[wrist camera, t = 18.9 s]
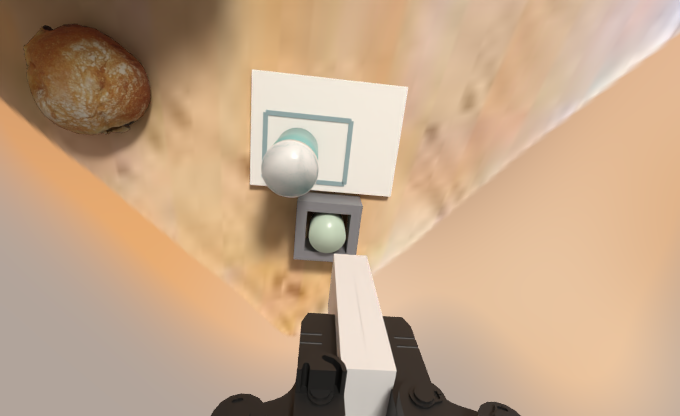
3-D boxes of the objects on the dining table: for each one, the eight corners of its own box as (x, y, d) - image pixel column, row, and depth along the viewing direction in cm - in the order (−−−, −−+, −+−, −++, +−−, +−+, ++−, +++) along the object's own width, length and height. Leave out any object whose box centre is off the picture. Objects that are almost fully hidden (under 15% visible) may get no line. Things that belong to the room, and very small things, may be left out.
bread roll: (108, 131, 40) (91, 170, 34) (8, 55, 33) (-35, 88, 27) (173, 82, 38) (167, 114, 32) (83, -8, 31) (54, 12, 25)
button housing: (295, 245, 42) (293, 259, 38) (299, 191, 39) (297, 200, 36) (352, 249, 42) (354, 263, 39) (359, 196, 40) (362, 206, 37)
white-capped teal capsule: (275, 165, 37) (259, 193, 27) (278, 123, 36) (263, 137, 26) (315, 170, 38) (315, 200, 28) (321, 129, 36) (322, 145, 26)
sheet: (251, 182, 39) (249, 184, 38) (253, 69, 35) (251, 69, 34) (389, 194, 40) (390, 197, 39) (406, 87, 36) (408, 87, 35)
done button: (308, 236, 41) (307, 251, 37) (311, 205, 40) (310, 217, 36) (341, 238, 41) (343, 254, 38) (345, 208, 40) (347, 220, 36)
